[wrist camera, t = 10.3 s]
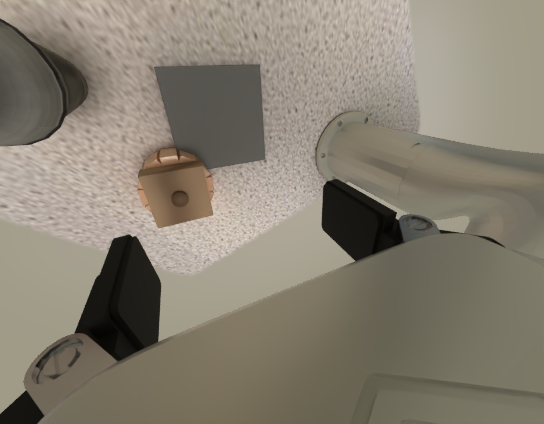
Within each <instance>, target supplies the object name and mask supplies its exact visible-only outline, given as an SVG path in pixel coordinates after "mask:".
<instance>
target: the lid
mask: <svg viewBox="0 0 544 424" xmlns="http://www.w3.org/2000/svg"><path fill="white" fill-rule="evenodd" d="M138 178H139V181H140V183H141V186H142V188H143V191H144V194H145V196H146V199H147V201H148V204H149V206H150V209H151V211H152V214H153V217H154V219H155V222H156V224H157V227H158V228H162V227H166V226H170V225H174V224H179V223H183V222H187V221H191V220H195V219H199V218H203V217H207V216H211V215H213V211H212V206H211V201H210V197H209V192H208V187H207V183H206V178H205V173H204V169H203V165H202V163H201V161H200V160H197V161H191V162H184V163H178V164H172V165H166V166H159V167H153V168H147V169H141V170H140V171H139V175H138Z"/></svg>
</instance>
